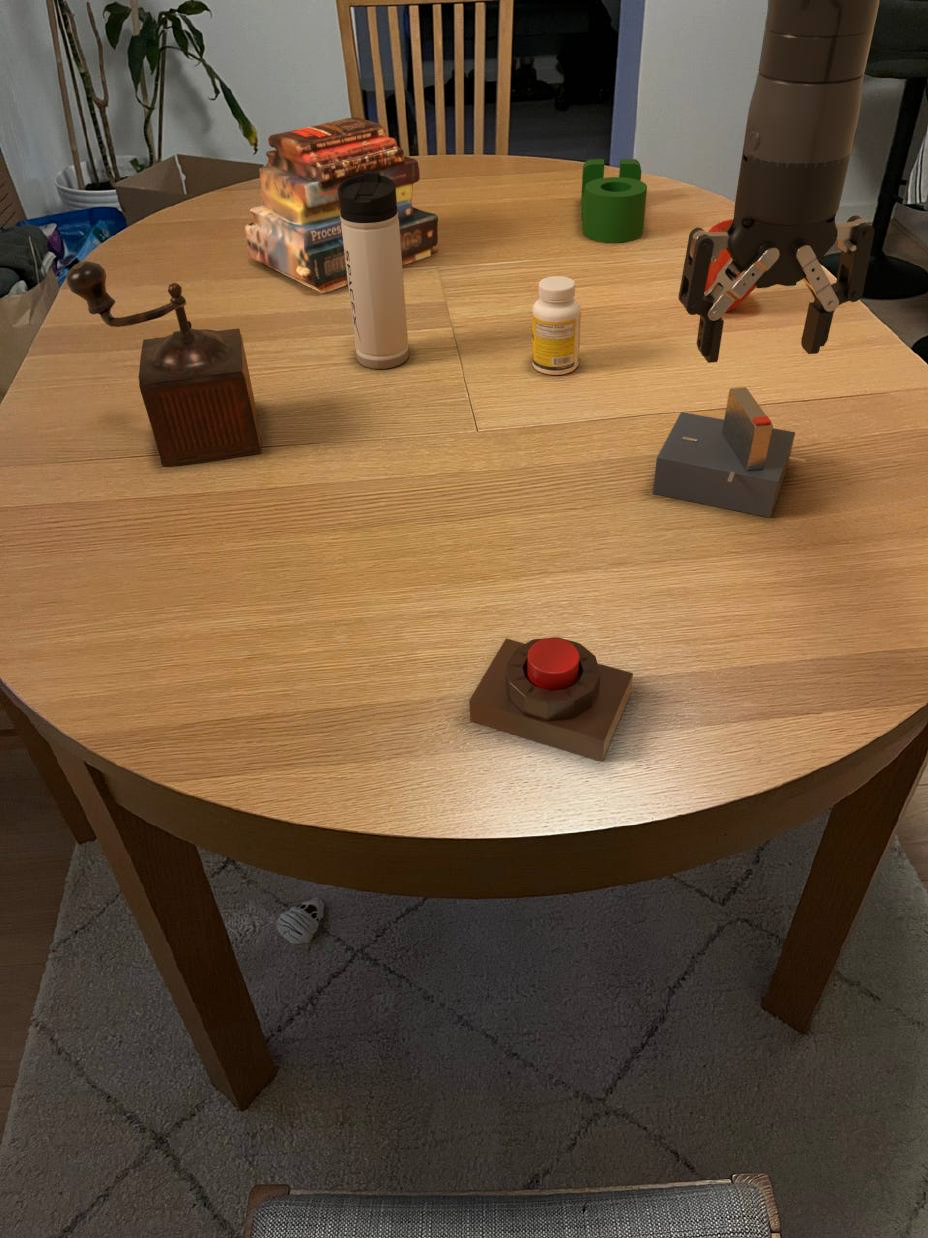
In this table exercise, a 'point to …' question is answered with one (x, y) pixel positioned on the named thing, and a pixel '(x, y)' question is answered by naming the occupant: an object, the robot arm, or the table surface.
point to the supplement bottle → (556, 327)
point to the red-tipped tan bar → (747, 428)
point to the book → (329, 200)
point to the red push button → (553, 664)
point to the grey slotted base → (719, 467)
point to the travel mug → (374, 269)
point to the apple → (722, 263)
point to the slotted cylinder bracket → (613, 202)
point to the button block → (552, 702)
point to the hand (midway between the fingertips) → (759, 354)
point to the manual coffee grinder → (185, 379)
